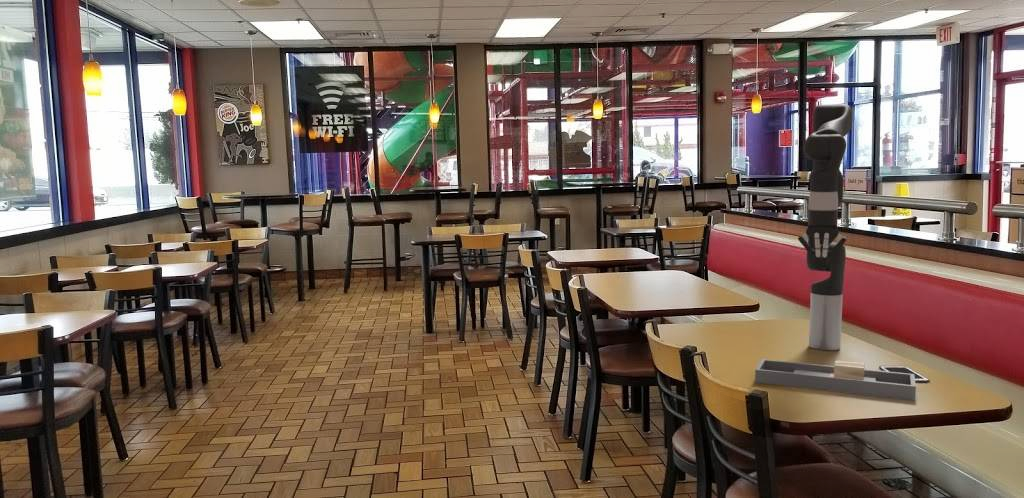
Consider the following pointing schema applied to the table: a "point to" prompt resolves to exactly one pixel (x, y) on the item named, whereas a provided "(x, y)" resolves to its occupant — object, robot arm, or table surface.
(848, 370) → the birch block
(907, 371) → the cell phone
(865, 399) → the table surface
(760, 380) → the channel
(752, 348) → the table surface
